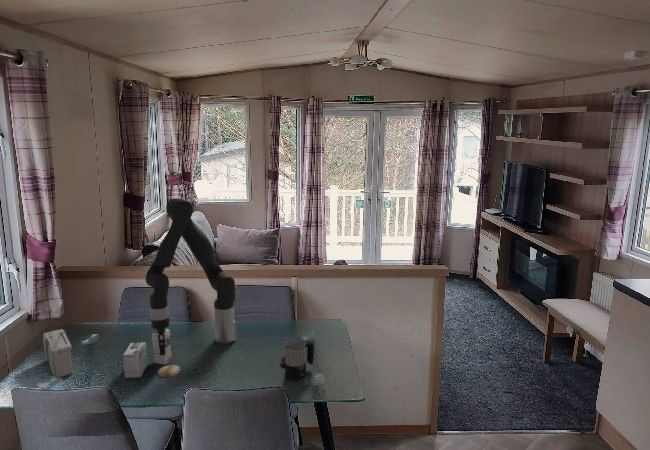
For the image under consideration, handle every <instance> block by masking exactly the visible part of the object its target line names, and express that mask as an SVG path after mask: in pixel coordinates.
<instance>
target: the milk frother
mask: <svg viewBox="0 0 650 450" xmlns="http://www.w3.org/2000/svg"><path fill="white" fill-rule="evenodd" d="M283 345H284V356H283V357H282V358H281V360H280V364H281V365H282V366H283V367H285V369H284V371H285V372H284V377H285V378H286V379H288V380H289V381H290V380H291V381H300V380H303V379H305V378H306V376H307V364H309V365H313V364H314V354H315V346H314V343H312V342H311V341H309V340H305V339H304V338H299V337H292V338H289V339H286V340H285V341H284V343H283ZM306 353H307V354H306Z"/></svg>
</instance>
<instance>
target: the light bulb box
mask: <svg viewBox="0 0 650 450" xmlns="http://www.w3.org/2000/svg"><path fill="white" fill-rule="evenodd" d="M147 354H148V353H147V343H146V342H130V343H129V345H128V347H127V349H125V351H124V353H123V354H122V358H123V359H122V360H123V368H124V370H123V371H124V378H125V379H126V378H127V379H128V378H129V379H130V378H141V377H142V375H143V373H144V371H145V370H146V369H147V366H148V355H147Z"/></svg>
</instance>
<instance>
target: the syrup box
mask: <svg viewBox="0 0 650 450" xmlns="http://www.w3.org/2000/svg"><path fill="white" fill-rule="evenodd" d="M164 331H166V332H164V335H165V334H166V341H165V346H166V347H165V355H160V348H159V343H158V341H157V335H159V334H158V333H156V332H158V331H156V330H155V331H153V332H152V333H151V340H152V350H153V352H152V353H153V360H154V364H159V365H164V366H167V365H168V363H169V362H171V360H172V359H173V358H174V357H173V347H172V338H171V329H170V328H166V330H164ZM156 334H157V335H156ZM164 338H165V336H164ZM163 344H164V343H160V345H163Z"/></svg>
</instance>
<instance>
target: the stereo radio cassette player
mask: <svg viewBox="0 0 650 450" xmlns="http://www.w3.org/2000/svg"><path fill="white" fill-rule="evenodd" d="M66 332H67V330H66V329H65V330H64V329H63V328H61V329H56V330H52V331H48V332H44V333H43V334H42V340H43V348H44V353H45V358H46V361H47V363H48V365H49V368H50V371H51V374H52V376H53V377H54V378H55V379H59V378H62V377H65V376H69V375H72V374H73V372H74V371H73V370H74V369H73V362H72V356H71V350H73V346H72V344H71V342H70V339H68V336H67V334H66Z"/></svg>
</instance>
